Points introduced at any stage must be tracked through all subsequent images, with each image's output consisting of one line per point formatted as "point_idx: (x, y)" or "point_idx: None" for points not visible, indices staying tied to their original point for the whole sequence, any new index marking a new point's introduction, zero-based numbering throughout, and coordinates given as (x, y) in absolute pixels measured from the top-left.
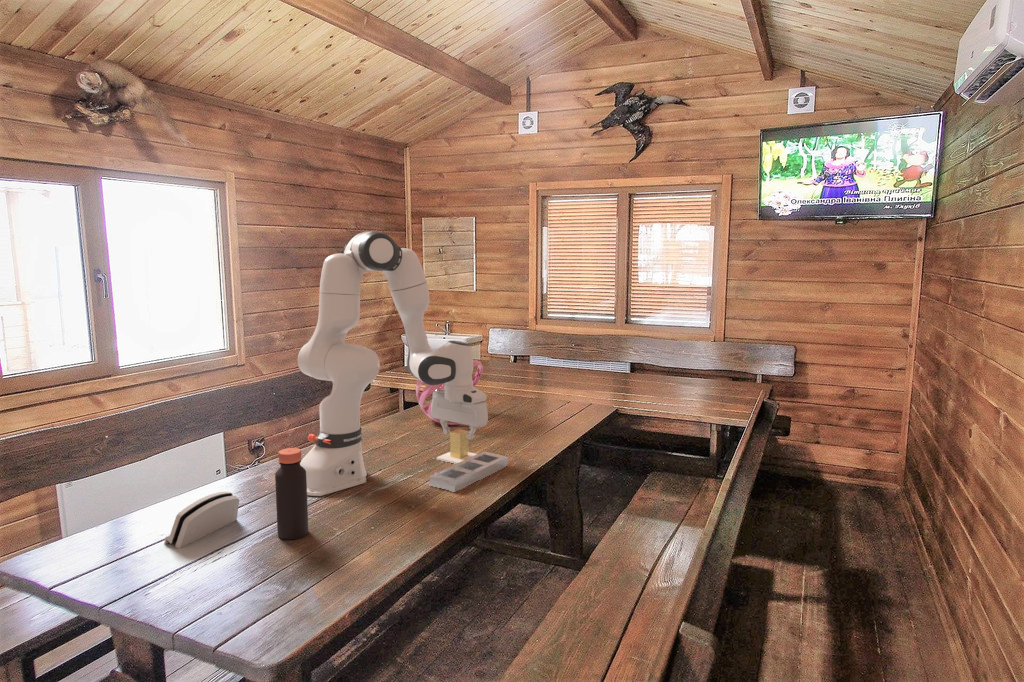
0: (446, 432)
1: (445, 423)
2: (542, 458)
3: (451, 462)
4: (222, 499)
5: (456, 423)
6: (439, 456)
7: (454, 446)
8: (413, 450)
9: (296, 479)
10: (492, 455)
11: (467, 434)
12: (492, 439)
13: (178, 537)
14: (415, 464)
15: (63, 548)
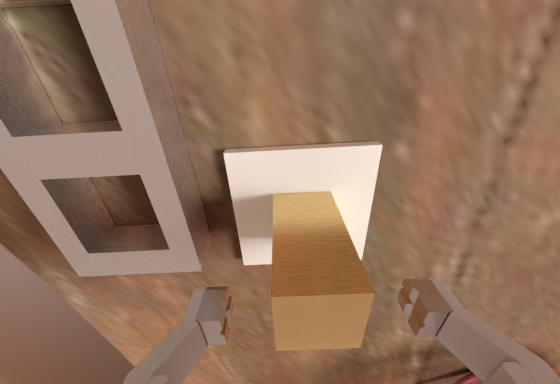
0: (413, 286)
1: (480, 364)
2: (111, 332)
3: (285, 147)
4: None
5: (473, 378)
6: (375, 163)
7: (313, 223)
8: (539, 170)
9: None
10: (132, 257)
11: (215, 313)
12: (324, 355)
13: None
14: (449, 4)
15: None
